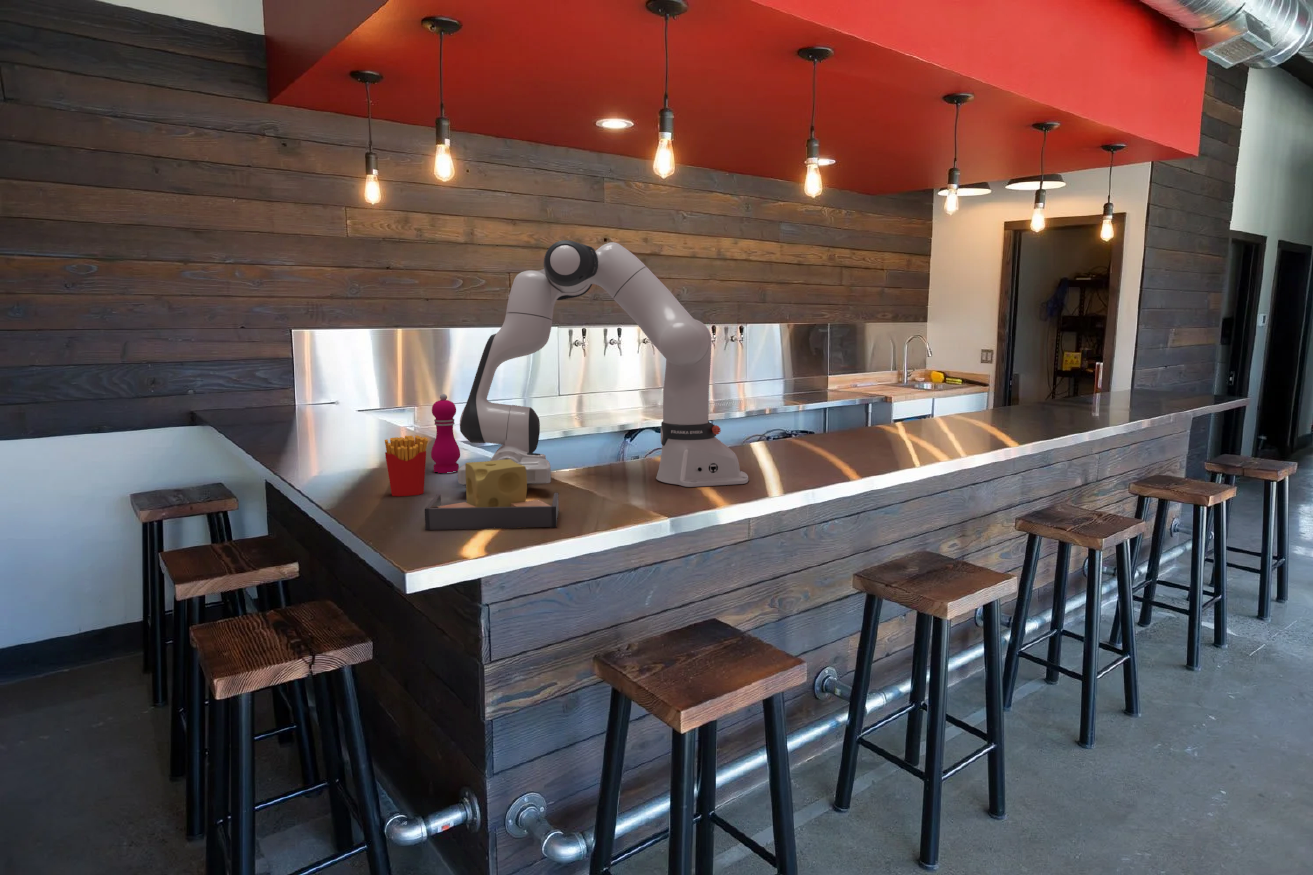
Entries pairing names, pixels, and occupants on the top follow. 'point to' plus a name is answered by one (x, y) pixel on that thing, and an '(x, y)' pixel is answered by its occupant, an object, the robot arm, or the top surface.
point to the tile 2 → (529, 503)
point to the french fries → (406, 465)
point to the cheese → (495, 483)
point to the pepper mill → (444, 437)
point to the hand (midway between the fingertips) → (501, 480)
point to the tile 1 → (456, 505)
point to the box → (489, 516)
